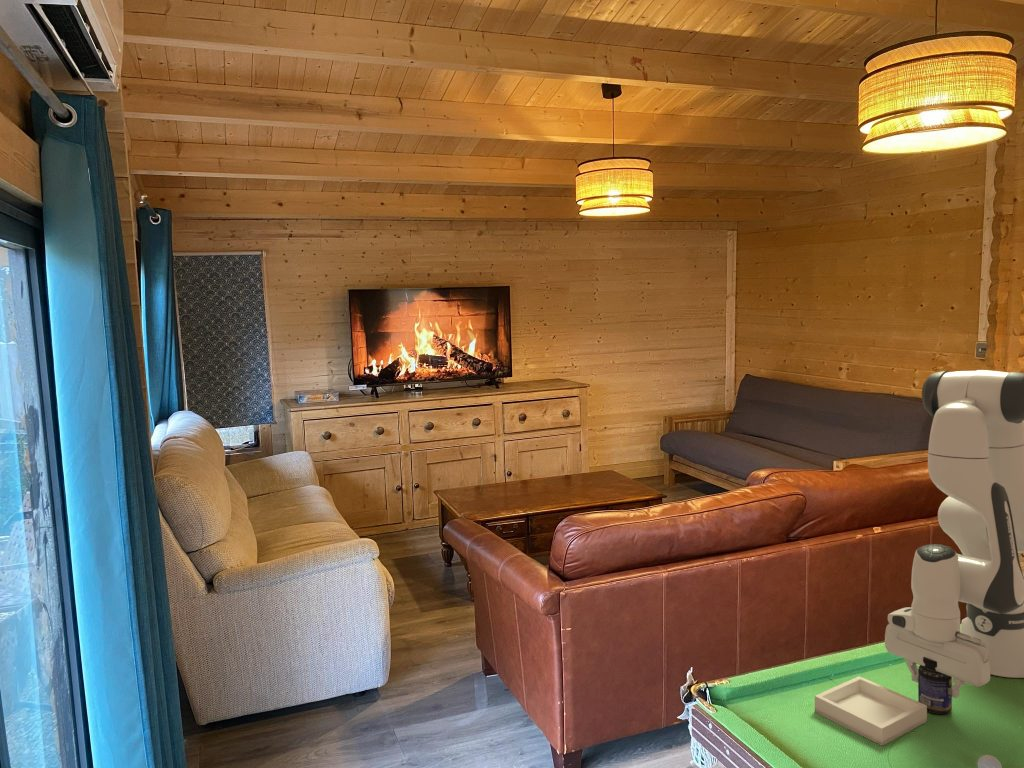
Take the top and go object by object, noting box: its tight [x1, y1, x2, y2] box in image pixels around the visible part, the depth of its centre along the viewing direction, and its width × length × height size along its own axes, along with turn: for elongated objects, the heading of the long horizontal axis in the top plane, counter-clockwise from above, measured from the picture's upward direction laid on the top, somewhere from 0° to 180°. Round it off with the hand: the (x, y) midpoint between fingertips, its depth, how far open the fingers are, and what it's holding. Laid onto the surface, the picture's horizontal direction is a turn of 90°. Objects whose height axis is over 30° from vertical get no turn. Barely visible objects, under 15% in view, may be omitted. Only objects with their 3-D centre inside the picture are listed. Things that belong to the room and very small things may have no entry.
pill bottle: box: [917, 657, 953, 715], centre depth 153 cm, size 6×6×11 cm
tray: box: [814, 675, 928, 746], centre depth 151 cm, size 15×15×4 cm
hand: (934, 688), depth 153 cm, fingers closed on pill bottle, 6 cm apart
